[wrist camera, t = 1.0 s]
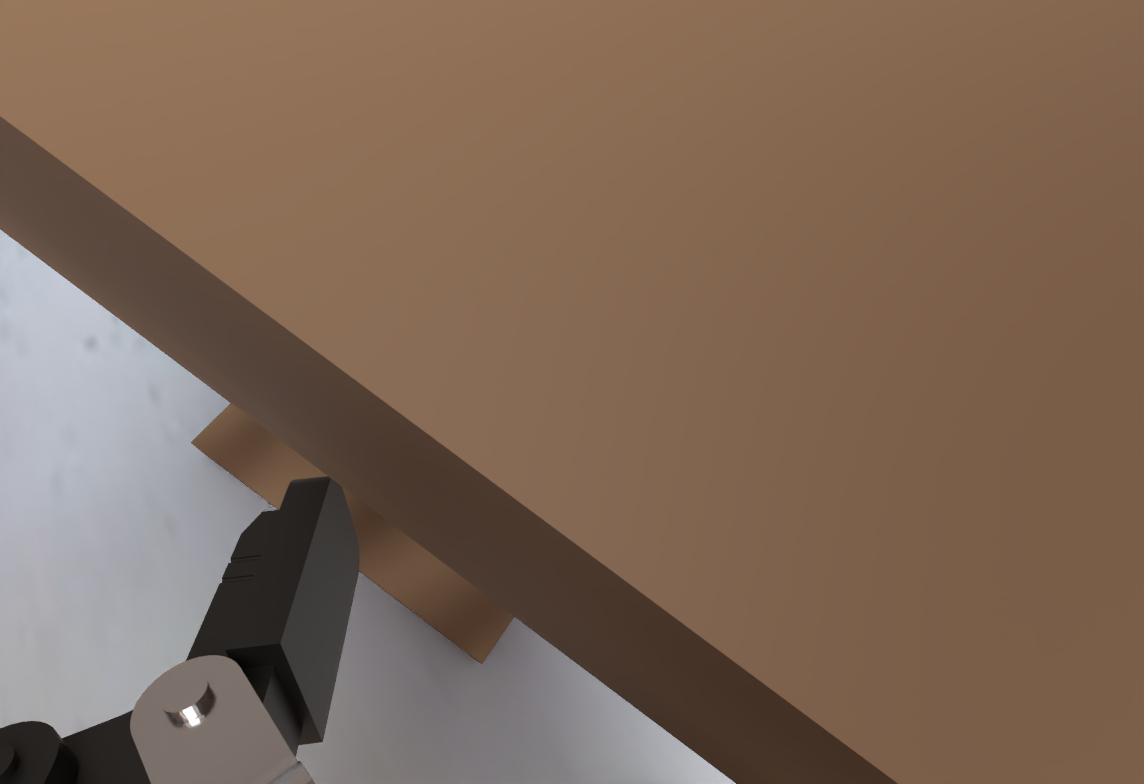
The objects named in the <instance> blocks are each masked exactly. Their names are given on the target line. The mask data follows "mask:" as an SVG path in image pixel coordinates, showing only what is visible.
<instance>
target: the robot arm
mask: <svg viewBox="0 0 1144 784" xmlns="http://www.w3.org/2000/svg"><path fill="white" fill-rule="evenodd" d="M359 562H360V556H359V544H358V539H357V535H356V532H355V528H354V525H353V521H352V518H351V515H350V511H349V508H348V505H347V501H346V498H345V494H344V491H343V488H342V486H341V485H339V484H338V483H337V482H335V481H334V480H333V479H331V478H330V477H329V476H324V477H315V478H305V479H295V480H292V481H291V482H290V483H289V486H288V488H287V491H286V493H285V496H284V498H283V501H282V504H281V506H280V509H279V510H275V511H265V512H262V513H261V514H260V515H259V516H258V517H257V518H256V519H255V520H254V521H253V522H252V523H251V524H250V525H249V527H248V528H247V529H246V530H245V531H244V532H243V533H242V534H241V536H240V538H239V540H238V543H237V545H236V547H235V550H234V552H233V554H232V556H231V563H228V566H227V568H226V570H225V572H224V575H223V577H222V583H220V584H219V586H218V589H217V591H216V593H215V595H214V598H213V600H212V602H211V605H210V607H209V609H208V611H207V614H206V616H205V618H204V621H203V623H202V625H201V628H200V630H199V632H198V634H197V637H196V639H195V641H194V644H193V646H192V648H191V650H190V653H189V655H188V657H187V659H186V661H185V662H183V663H181V664H179V665H177V666H175V667H173V668H171V669H170V670H168V671H167V672H165V673H164V674H162V675H161V676H160V677H159V678H158V679H156V680H155V681H154V682H153V683H152V684H151V685H150V686H149V687H148V688H147V689H146V690H145V692H144V693H143V694H142V695H141V697H140V698H139V700H138V702H137V703H136V705H135V707H134V710H132V711H130V712H128V713H126V714H123V715H121V716H119V717H116V718H114V719H111V720H108V721H106V722H103V723H101V724H98V725H96V726H93V727H90V728H88V729H85V730H83V731H80V732H78V733H75V734H72V735H70V736H67V737H65V738H62V739H61V737H60V736H59V735H58V733H57V732H56V731H55V730H54V728H53V727H51V726H50V725H48V724H46V723H43V722H38V721H27V722H20V723H16V724H12V725H9V726H6V727H3V728H1V729H0V784H315V783H314V781H313V780H312V778H311V777H310V775H309V773H308V772H307V770H306V769H305V767H304V766H303V764H302V763H301V762H300V761H299V762H298V761H297V759H296V758H295V757H296V753H297V749H298V745H303V744H310V743H318V742H323V738H324V733H325V728H326V724H327V719H328V714H329V709H330V705H331V700H332V695H333V691H334V686H335V681H336V676H337V672H338V667H339V662H340V658H341V653H342V648H343V643H344V639H345V634H346V629H347V625H348V620H349V615H350V610H351V606H352V601H353V596H354V592H355V587H356V582H357V577H358V572H359Z"/></svg>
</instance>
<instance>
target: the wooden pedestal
mask: <svg viewBox="0 0 1144 784" xmlns="http://www.w3.org/2000/svg"><path fill="white" fill-rule="evenodd" d="M0 229H1V230H2V231H3V232H5V233H6V234H7V235H9V236H10V237H11V238H13V239H14V240H15V241H17V242H18V243H19V244H21V245H22V246H23V247H25V248H26V249H27V250H29V251H30V252H31V253H33V254H34V255H35V256H36V257H38V258H39V259H40V260H42V261H43V262H44V263H46V264H47V265H48V266H50V267H51V268H52V269H54V270H55V271H56V272H58V273H59V274H60V275H62V276H63V277H64V278H66V279H67V280H68V281H70V282H71V283H72V284H74V285H75V286H76V287H78V288H79V289H80V290H82V291H83V292H84V293H86V294H87V295H88V296H90V297H91V298H92V299H94V300H95V301H96V302H98V303H99V304H100V305H102V306H103V307H104V308H106V309H107V310H108V311H110V312H111V313H112V314H114V315H115V316H116V317H118V318H119V319H120V320H121V321H123V322H124V323H125V324H127V325H128V326H129V327H131V328H132V329H133V330H135V331H136V332H137V333H139V334H140V335H141V336H143V337H144V338H145V339H147V340H148V341H149V342H151V343H152V344H153V345H155V346H156V347H157V348H159V349H160V350H161V351H163V352H164V353H165V354H167V355H168V356H169V357H171V358H172V359H173V360H175V361H176V362H177V363H179V364H180V365H181V366H183V367H184V368H185V369H187V370H188V371H189V372H191V373H192V374H193V375H195V376H196V377H197V378H199V379H200V380H201V381H202V382H204V383H205V384H206V385H208V386H209V387H210V388H212V389H213V390H214V391H216V392H217V393H218V394H220V395H221V396H222V397H224V398H225V399H226V400H228V401H229V402H230V403H231V404H230V405H229V406H228V407H227V408H226V409H225V410H224V411H223V412H222V413H221V414H219V415H218V416H217V417H216V418H215V419H214V420H213V421H212V422H211V423H210V424H209V425H208V426H207V427H206V428H205V429H204V430H203V431H202V432H201V433H200V434H199V435H198V436H197V437H196V438H195V439H194V440H193V441H192V442H191V443H192V444H193V445H194V446H196V447H197V448H198V449H199V450H201V451H202V452H203V453H204V454H206V455H207V456H208V457H210V458H211V459H212V460H214V461H215V462H216V463H217V464H219V465H220V466H221V467H223V468H224V469H225V470H227V471H228V472H229V473H231V474H232V475H233V476H235V477H236V478H237V479H239V480H240V481H241V482H243V483H244V484H245V485H246V486H248V487H249V488H250V489H252V490H253V491H254V492H256V493H257V494H258V495H260V496H261V497H262V498H264V499H265V500H266V501H268V502H269V503H270V504H272V505H273V506H274V507H275V508H277V509H278V510H279V509H280V506H281V504H282V501H283V498H284V496H285V493H286V491H287V488H288V486H289V483H290V482H291V481H292V480H295V479H305V478H315V477H324V476H329V477H330V478H331V479H333V480H334V481H335V482H337V483H338V484H339V485H341V486H342V488H343V491H344V494H345V498H346V501H347V505H348V508H349V511H350V515H351V518H352V521H353V525H354V528H355V532H356V535H357V539H358V544H359V556H360V562H359V571H360V572H361V573H362V574H364V575H365V576H366V577H368V578H369V579H370V580H372V581H373V582H374V583H376V584H377V585H378V586H380V587H381V588H382V589H384V590H385V591H386V592H387V593H389V594H390V595H391V596H393V597H394V598H395V599H397V600H398V601H399V602H401V603H402V604H403V605H405V606H406V607H407V608H409V609H410V610H411V611H413V612H414V613H415V614H416V615H418V616H419V617H420V618H422V619H423V620H424V621H426V622H427V623H428V624H430V625H431V626H432V627H434V628H435V629H436V630H438V631H439V632H440V633H441V634H443V635H444V636H445V637H447V638H448V639H449V640H451V641H452V642H453V643H455V644H456V645H457V646H459V647H460V648H461V649H463V650H464V651H465V652H467V653H468V654H469V655H470V656H472V657H473V658H474V659H476V660H477V661H478V662H480V663H483V661H484V660H485V659H486V657H487V656H488V654H489V653H490V651H491V650H492V648H493V647H494V645H495V644H496V643H497V641H498V640H499V638H500V637H501V635H502V634H503V632H504V631H505V629H506V628H507V626H508V625H509V624H510V622H511V621H512V619H513V618H514V616H515V617H516V618H517V619H519V620H520V621H521V622H523V623H524V624H525V625H527V626H528V627H529V628H531V629H532V630H533V631H534V632H536V633H537V634H538V635H540V636H541V637H542V638H544V639H545V640H546V641H548V642H549V643H550V644H552V645H553V646H554V647H556V648H557V649H558V650H560V651H561V652H562V653H564V654H565V655H566V656H568V657H569V658H570V659H572V660H573V661H574V662H576V663H577V664H578V665H580V666H581V667H582V668H584V669H585V670H586V671H588V672H589V673H590V674H592V675H593V676H594V677H596V678H597V679H598V680H600V681H601V682H602V683H604V684H605V685H606V686H608V687H609V688H610V689H612V690H613V691H614V692H616V693H617V694H618V695H619V696H621V697H622V698H623V699H625V700H626V701H627V702H629V703H630V704H631V705H633V706H634V707H635V708H637V709H638V710H639V711H641V712H642V713H643V714H645V715H646V716H647V717H649V718H650V719H651V720H653V721H654V722H655V723H657V724H658V725H659V726H661V727H662V728H663V729H665V730H666V731H667V732H669V733H670V734H671V735H673V736H674V737H675V738H677V739H678V740H679V741H681V742H682V743H683V744H685V745H686V746H687V747H689V748H690V749H691V750H693V751H694V752H695V753H697V754H698V755H699V756H700V757H702V758H703V759H704V760H706V761H707V762H708V763H710V764H711V765H712V766H714V767H715V768H716V769H718V770H719V771H720V772H722V773H723V774H724V775H726V776H727V777H728V778H730V779H731V780H732V781H734V782H735V783H736V784H1144V0H0Z"/></svg>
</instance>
